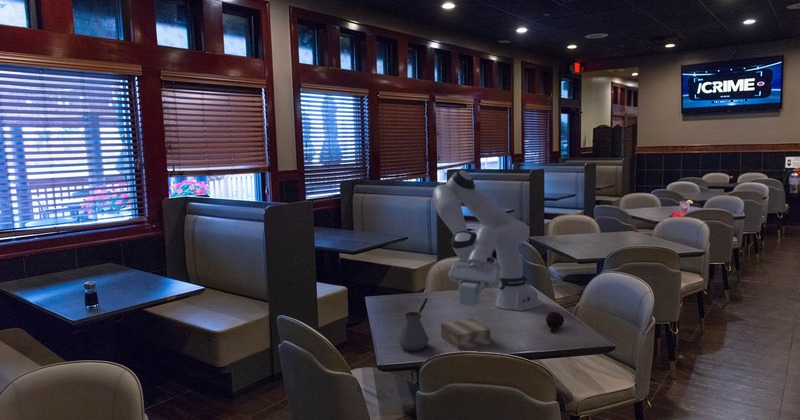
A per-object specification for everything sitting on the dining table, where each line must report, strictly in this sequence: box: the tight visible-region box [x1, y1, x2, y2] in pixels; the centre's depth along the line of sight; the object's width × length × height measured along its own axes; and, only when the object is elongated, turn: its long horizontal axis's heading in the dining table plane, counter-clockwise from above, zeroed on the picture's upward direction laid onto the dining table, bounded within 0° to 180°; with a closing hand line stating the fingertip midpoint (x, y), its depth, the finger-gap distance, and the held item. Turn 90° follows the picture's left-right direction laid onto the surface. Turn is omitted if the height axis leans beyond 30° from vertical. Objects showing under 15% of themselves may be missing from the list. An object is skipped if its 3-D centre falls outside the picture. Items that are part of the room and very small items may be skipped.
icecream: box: [545, 311, 565, 334], centre depth 222 cm, size 7×7×15 cm
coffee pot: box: [398, 297, 431, 352], centre depth 210 cm, size 21×12×15 cm, turn 156°
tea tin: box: [459, 282, 480, 307], centre depth 208 cm, size 6×6×8 cm
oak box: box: [440, 318, 491, 350], centre depth 211 cm, size 14×14×6 cm
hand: (469, 292), depth 208 cm, fingers closed on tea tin, 6 cm apart
